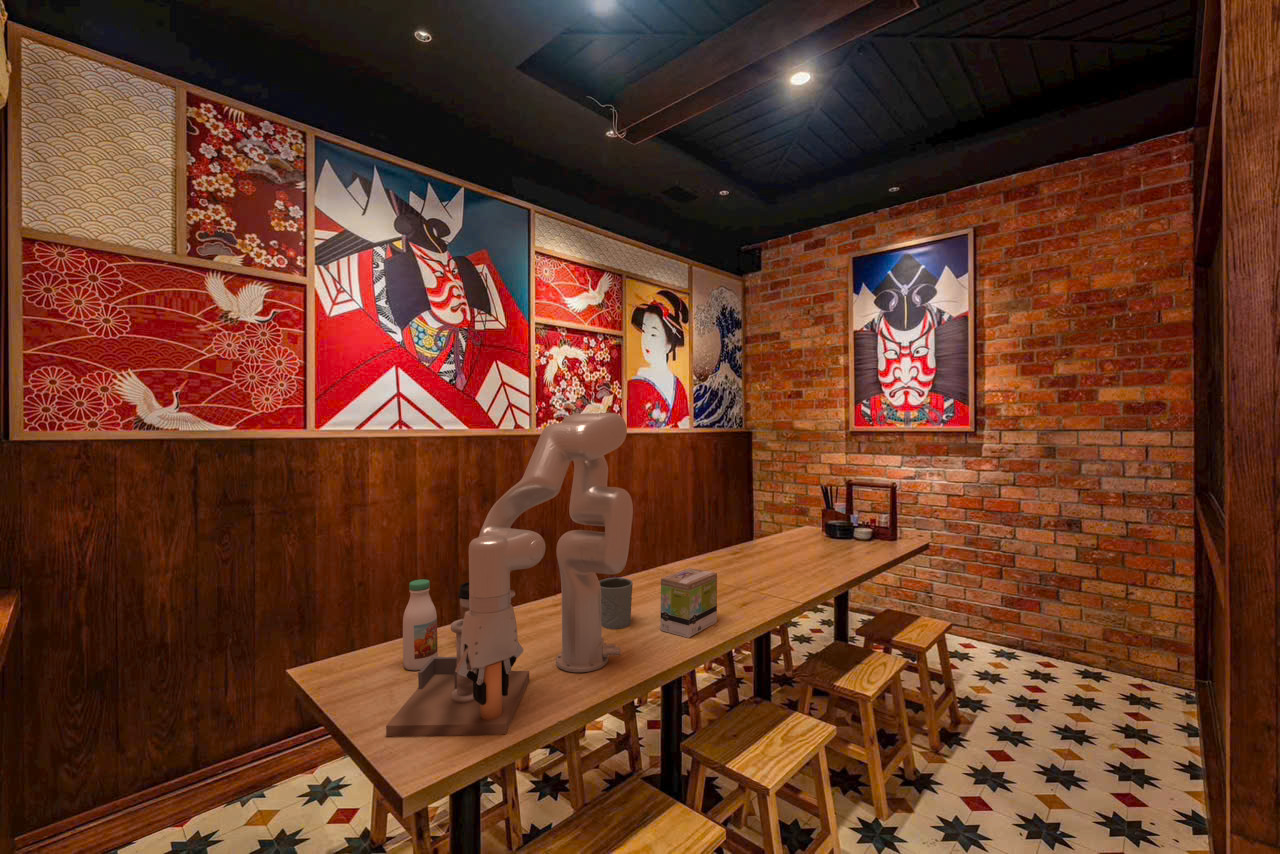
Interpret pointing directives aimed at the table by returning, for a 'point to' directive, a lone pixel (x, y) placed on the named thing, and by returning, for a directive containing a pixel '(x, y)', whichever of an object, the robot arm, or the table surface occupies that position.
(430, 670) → the notch block
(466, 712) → the board
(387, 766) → the table surface
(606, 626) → the grey green embossed cup
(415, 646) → the milk bottle
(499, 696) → the plug
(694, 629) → the tea box
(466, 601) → the coffee cup
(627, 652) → the table surface
